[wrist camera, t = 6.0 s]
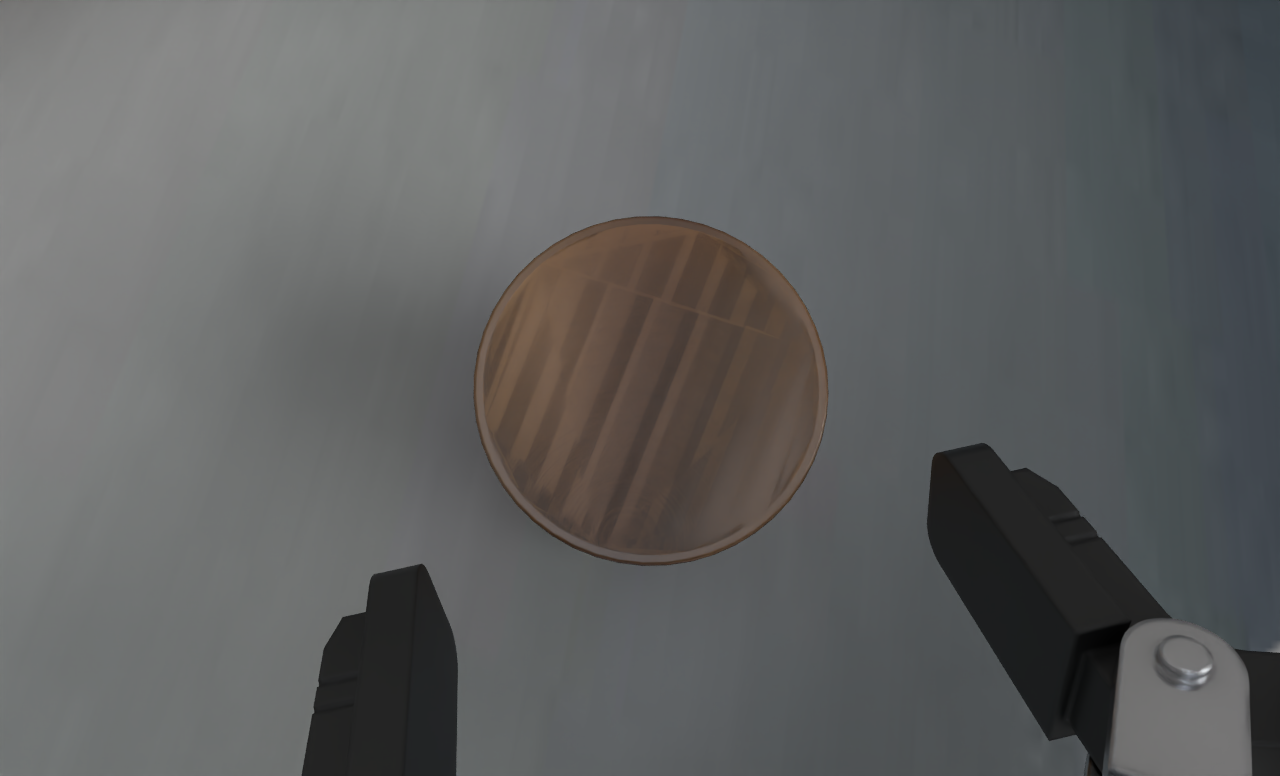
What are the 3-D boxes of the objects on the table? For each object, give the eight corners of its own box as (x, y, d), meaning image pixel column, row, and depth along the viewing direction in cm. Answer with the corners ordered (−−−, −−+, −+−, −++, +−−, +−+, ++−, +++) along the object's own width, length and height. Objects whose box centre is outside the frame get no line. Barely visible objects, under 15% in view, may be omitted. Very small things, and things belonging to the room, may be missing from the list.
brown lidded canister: (756, 338, 22) (831, 224, 14) (750, 561, 21) (827, 575, 13) (537, 326, 22) (487, 205, 14) (521, 550, 21) (457, 556, 13)
